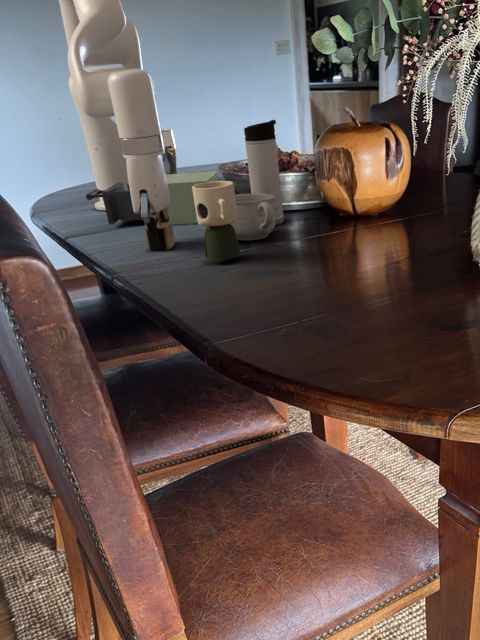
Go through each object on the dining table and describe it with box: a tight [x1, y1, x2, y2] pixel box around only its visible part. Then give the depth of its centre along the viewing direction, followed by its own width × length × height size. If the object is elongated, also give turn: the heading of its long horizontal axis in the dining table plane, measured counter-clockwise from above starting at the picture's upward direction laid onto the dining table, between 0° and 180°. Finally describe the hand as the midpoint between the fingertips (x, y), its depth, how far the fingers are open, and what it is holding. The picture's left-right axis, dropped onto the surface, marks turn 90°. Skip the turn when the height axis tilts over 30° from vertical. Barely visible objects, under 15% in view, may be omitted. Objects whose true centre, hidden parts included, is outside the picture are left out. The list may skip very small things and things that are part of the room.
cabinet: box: [150, 170, 220, 226], centre depth 148 cm, size 15×13×9 cm
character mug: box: [192, 180, 242, 263], centre depth 113 cm, size 11×7×13 cm, turn 24°
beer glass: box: [160, 128, 178, 175], centre depth 186 cm, size 7×7×15 cm
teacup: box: [231, 193, 276, 241], centre depth 126 cm, size 14×11×8 cm
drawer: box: [85, 182, 144, 225], centre depth 149 cm, size 18×12×7 cm, turn 87°
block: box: [144, 222, 176, 251], centre depth 127 cm, size 4×4×4 cm
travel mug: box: [243, 119, 285, 226], centre depth 134 cm, size 6×7×20 cm
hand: (162, 245), depth 128 cm, fingers open, 4 cm apart
